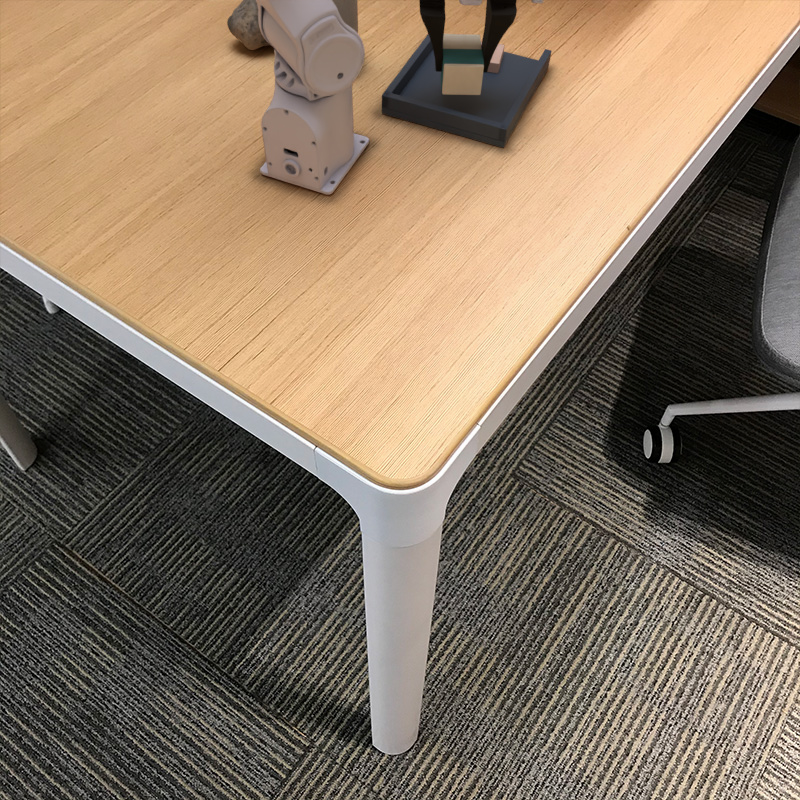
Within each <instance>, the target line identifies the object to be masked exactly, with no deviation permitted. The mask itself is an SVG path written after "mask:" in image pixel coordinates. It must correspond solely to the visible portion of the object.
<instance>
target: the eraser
mask: <svg viewBox="0 0 800 800" xmlns="http://www.w3.org/2000/svg"><path fill="white" fill-rule="evenodd" d="M481 41H482V39H481V34H474V33H473V34H468V33H466V34H465V33H444V37H443V65H442V72H441V92H442V94H447V95H480V94H481V86H482V78H483V70H484V60H483V51H482V47H481Z"/></svg>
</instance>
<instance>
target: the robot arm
mask: <svg viewBox="0 0 800 800" xmlns="http://www.w3.org/2000/svg"><path fill="white" fill-rule="evenodd" d="M530 1H531V3H533V4H543V3H544V0H530ZM256 2H257V5H258V17H259V28H260V31H261V33H262V35H263V37H264V38H265V40H266V41H267V42H268V43H269V44H270V45H269V46H271V47H272V48H273V53H274V63H273V74H274V75H273V76H274V90H273V94H272V95H273V96H272V98H271V101H270V103H269V105H268V107H267V108H266V110H265V112H264V113H263V114H262V118H261V122H260V124H261V125H260V126H261V127H260V128H261V134H262V141H263V147H264V148H263V149H264V155H265V162H264V163H263V165H262V166H261V167H260V168H259V172H260V174H261V175H263V176H266V177H269V178H272V179H275V180H278V181H282V182H285V183H289V184H292V185H295V186H298V187H301V188H305V189H308V190H311V191H314V192H318V193H320V194H324V195H327V196H329V195H332V194H333V193H334V192H335V190H336V189H337V188H338V187H339V185H340V183H341V182H342V181H343V179H344V178H345V177H346V175H347V174H348V173H349V171H350V170H351V169H352V167H353V166H354V164H355V163H356V162H357V160H358V159H359V157H360V156H361V155H362V154H363V152H364V151H365V149H366V148H367V147H368V145H369V144H370V138H369V137H368V136H366V135H361V134H358V133H355V130H354V126H355V125H354V96H353V94H354V93H353V92H354V91H353V83H355V81H356V80H357V78H358V77H359V75H360V73H361V72H362V68H363V66H364V62H365V56H366V53H365V45H364V42H363V39H362V37H361V36H360V34H359V32H358V33H357V32H356V31H355V30H353V29H352V28H351V27H350V26H348V25H347V24H345V23H344V21H343V20H342V18H341V16H340V14H339V12H338V9H337V7H336V6H335V4H334V2H333V1H332V0H256ZM418 2H419V15H420V18H421V20H422V23H423V25H424V28H425V29H426V32H427V35H428V34H429V37H430V40H431V43H432V47H433V51H434V56H435V70H436V72H442V65H443V37H444V34H445V26H446V19H447V18H446V0H419V1H418ZM458 2H459V4H460V5H462V6H480V5H482V3H483V0H458ZM517 2H518V1H517V0H486V7H485V19H484V28H483V34H482V39H481V41H482V45H481V47H482V51H483V60H484V70H483V72H487V71H488V67H489V64H490V61H491V59H492V56H493V54H494V52H495V50H496V48H497V46H498V44H500V42H501V40H502V39H503V37H504V36H505V34H506V32H507V31H508V30H509V28H510V27H511V26H512V25H513V24H514V22H515V20H516V17H517V13H518V8H517Z"/></svg>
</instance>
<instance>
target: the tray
mask: <svg viewBox="0 0 800 800" xmlns="http://www.w3.org/2000/svg"><path fill="white" fill-rule="evenodd" d="M551 56H552V50H551V49H548V48H544V50H543V51H542V53H541V55H540V57H539V59H535V58H531V57H528V56H523V55H521V54H520V55H519V54H515V53H511V52H508V51H504V52H503V57H502V60H501V64H500V68H499V71H498V73H492V72H483V78H482V86H481V94H480V95H447V94H442V92H441V72H436V70H435V56H434V51H433V47H432V43H431V40H430V37H429V34H428V33H427V35H426V36H425V37H424V39H423V40H422V41H421V43H420V44H419V45H418V47H417V48H416V50H414V52H413V53H412V54H411V56H410V57H409V58H408V59H407V61H406V63H405V64H404V65H403V66H402V68H401V69H400V71H399V72H398V73H397V75H396V76H395V77H394V78H393V80H391V82H390V83H389V85H388V86H387V88H386V89H385V90H384V92H383V93H382V94H381V114H382V115H386V116H389V117H393V118H395V119H396V118H397V119H400V120H403V121H407V122H410V123H413V124H417V125H421V126H425V127H427V128H432V129H435V130H438V131H442V132H445V133H449V134H452V135H456V136H460V137H463V138H467V139H471V140H474V141H478V142H480V143H485V144H488V145H491V146H494V147H495V146H496V147H498V148H502V149H504V148H505V147H506V145H507V143H508V141H509V140H510V138H511V136H512V134H513V132H514V131H515V129H516V127H517V125H518V123H519V122H520V119H521V118H522V116H523V115H524V113H525V111H526V110H527V108H528V106H529V104H530V102H531V100H532V98H533V97H534V95H535V93H536V91H537V90H538V87H539V86H540V84H541V82H542V81H543V79H544V77H545V76H546V73H547V72H548V70H549V67H550V61H551Z"/></svg>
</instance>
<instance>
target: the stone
mask: <svg viewBox="0 0 800 800" xmlns="http://www.w3.org/2000/svg"><path fill="white" fill-rule="evenodd" d="M226 25H227V28H228V30H229V32H230V33H231V34H232V35H233V36H234V37H235V38H236V39H238V40H239V41H240V42H241V43H242V44H243V46H244V47H245V48H246V49H247V50H249V51H250V50H251V51H255V50H257V49H260V48H262V47H264V46H271V45H270V44H269V43H268V42H267V41H266V40H265V38H264V37H263V35H262V33H261V31H260V28H259V17H258V5H257V2H256V0H242V1H241V2H240V3H239V4H238V6H236V7H235V8H234V10H233V11H232V14H231V15H230V16H229V17H228V18H227V22H226Z"/></svg>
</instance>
